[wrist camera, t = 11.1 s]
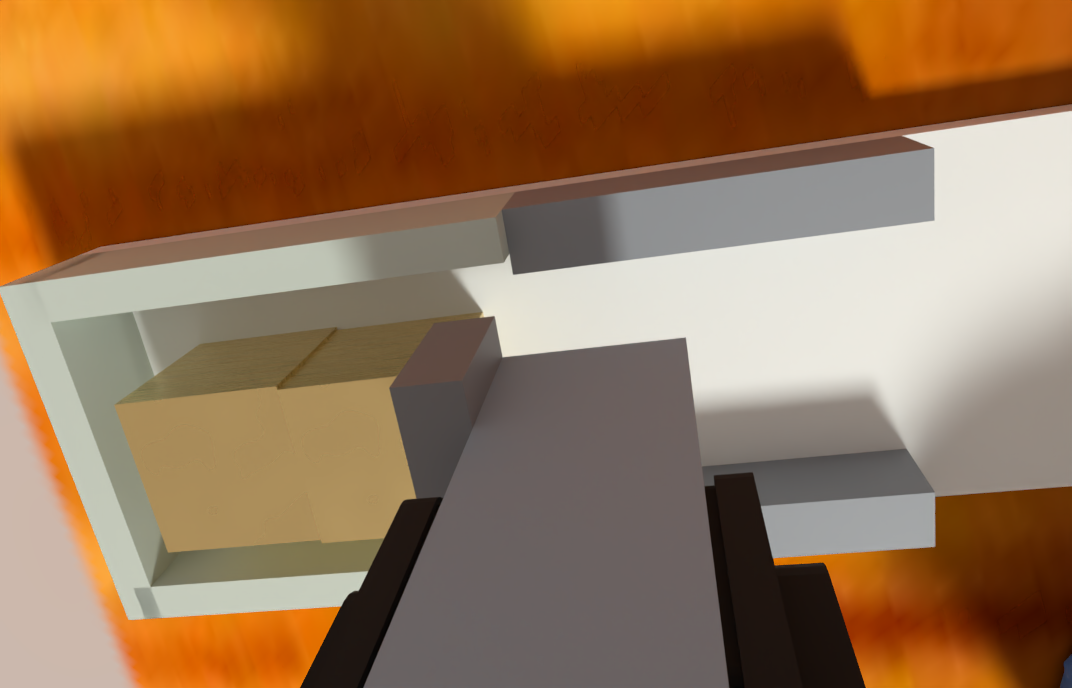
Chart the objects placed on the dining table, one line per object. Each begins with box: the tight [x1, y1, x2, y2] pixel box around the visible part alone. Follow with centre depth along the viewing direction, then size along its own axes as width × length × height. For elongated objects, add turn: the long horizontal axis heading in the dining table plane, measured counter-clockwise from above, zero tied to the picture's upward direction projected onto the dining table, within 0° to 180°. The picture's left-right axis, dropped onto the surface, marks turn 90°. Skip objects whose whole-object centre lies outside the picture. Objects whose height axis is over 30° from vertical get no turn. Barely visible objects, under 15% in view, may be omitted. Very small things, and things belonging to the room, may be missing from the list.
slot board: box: [0, 104, 1072, 620], centre depth 21 cm, size 10×27×4 cm, turn 99°
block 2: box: [277, 312, 484, 543], centre depth 21 cm, size 4×4×4 cm
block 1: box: [114, 327, 338, 553], centre depth 21 cm, size 4×4×4 cm
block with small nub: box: [364, 316, 729, 688], centre depth 11 cm, size 5×5×12 cm
